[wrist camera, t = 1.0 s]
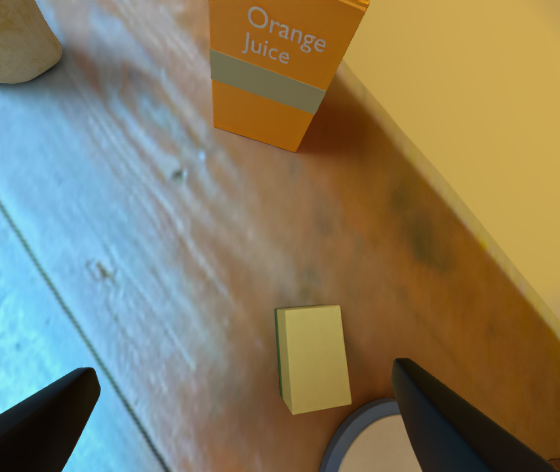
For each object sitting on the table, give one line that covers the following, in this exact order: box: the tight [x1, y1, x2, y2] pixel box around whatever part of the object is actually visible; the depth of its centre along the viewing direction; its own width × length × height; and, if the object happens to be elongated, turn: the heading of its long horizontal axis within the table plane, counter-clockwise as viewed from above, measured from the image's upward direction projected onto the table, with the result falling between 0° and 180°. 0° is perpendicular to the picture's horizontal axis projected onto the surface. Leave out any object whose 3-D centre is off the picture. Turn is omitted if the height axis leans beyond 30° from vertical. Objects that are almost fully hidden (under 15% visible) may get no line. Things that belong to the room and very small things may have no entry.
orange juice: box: [209, 0, 370, 152], centre depth 19 cm, size 8×9×20 cm
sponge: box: [275, 305, 352, 415], centre depth 21 cm, size 7×4×4 cm, turn 5°
